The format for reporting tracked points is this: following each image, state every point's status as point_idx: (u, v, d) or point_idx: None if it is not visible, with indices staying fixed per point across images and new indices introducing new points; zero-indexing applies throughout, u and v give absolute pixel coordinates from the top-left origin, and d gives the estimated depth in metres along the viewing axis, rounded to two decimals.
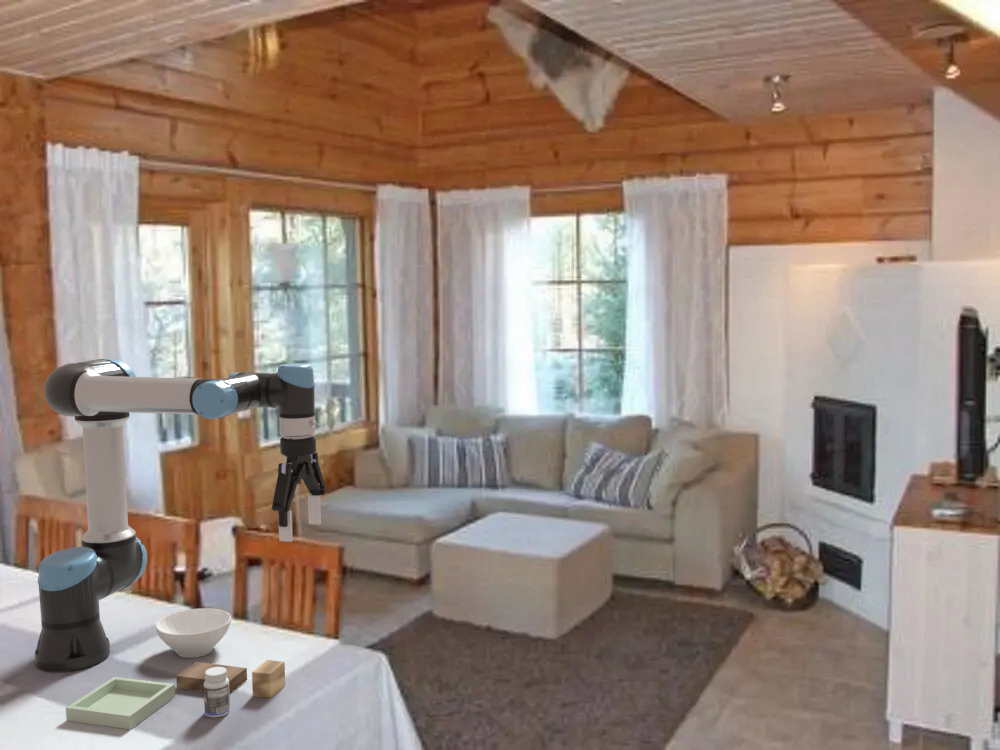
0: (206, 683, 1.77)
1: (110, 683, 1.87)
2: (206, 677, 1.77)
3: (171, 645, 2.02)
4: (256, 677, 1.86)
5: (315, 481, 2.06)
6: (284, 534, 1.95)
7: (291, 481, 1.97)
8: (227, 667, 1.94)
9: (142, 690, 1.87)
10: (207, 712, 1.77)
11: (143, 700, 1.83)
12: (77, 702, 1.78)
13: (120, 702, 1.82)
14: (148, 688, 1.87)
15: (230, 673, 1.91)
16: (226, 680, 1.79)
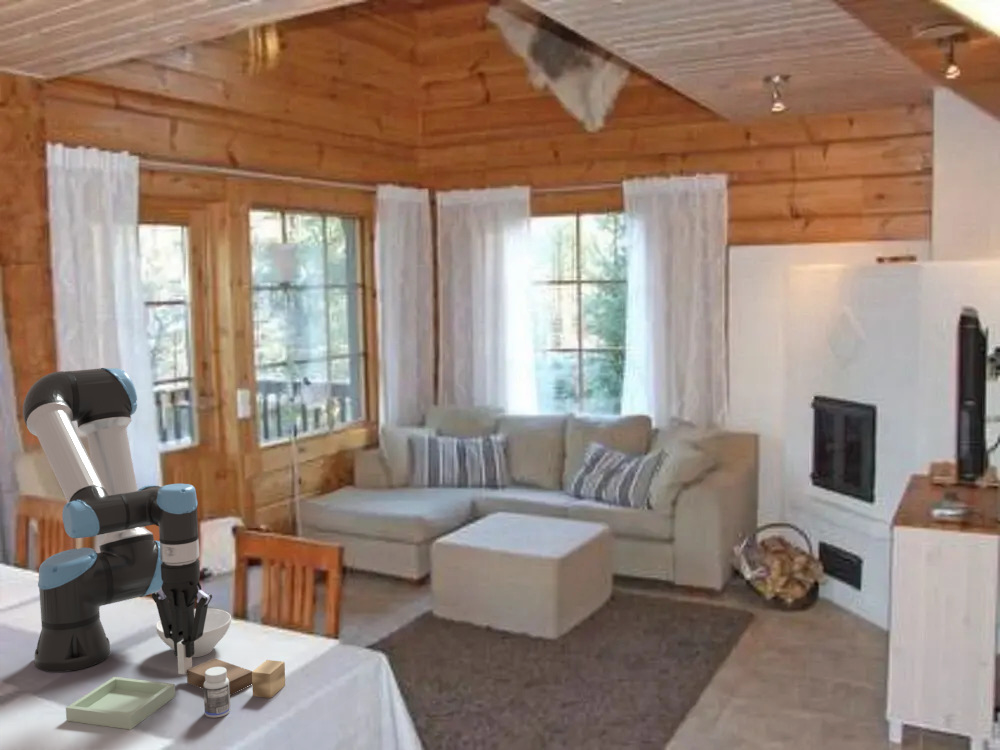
0: (206, 683, 1.77)
1: (110, 683, 1.87)
2: (206, 677, 1.77)
3: (171, 645, 2.02)
4: (256, 677, 1.86)
5: (185, 622, 1.90)
6: None
7: None
8: (236, 668, 1.93)
9: (142, 690, 1.87)
10: (207, 712, 1.77)
11: (143, 700, 1.83)
12: (77, 702, 1.78)
13: (120, 702, 1.82)
14: (148, 688, 1.87)
15: (234, 674, 1.90)
16: (226, 680, 1.79)
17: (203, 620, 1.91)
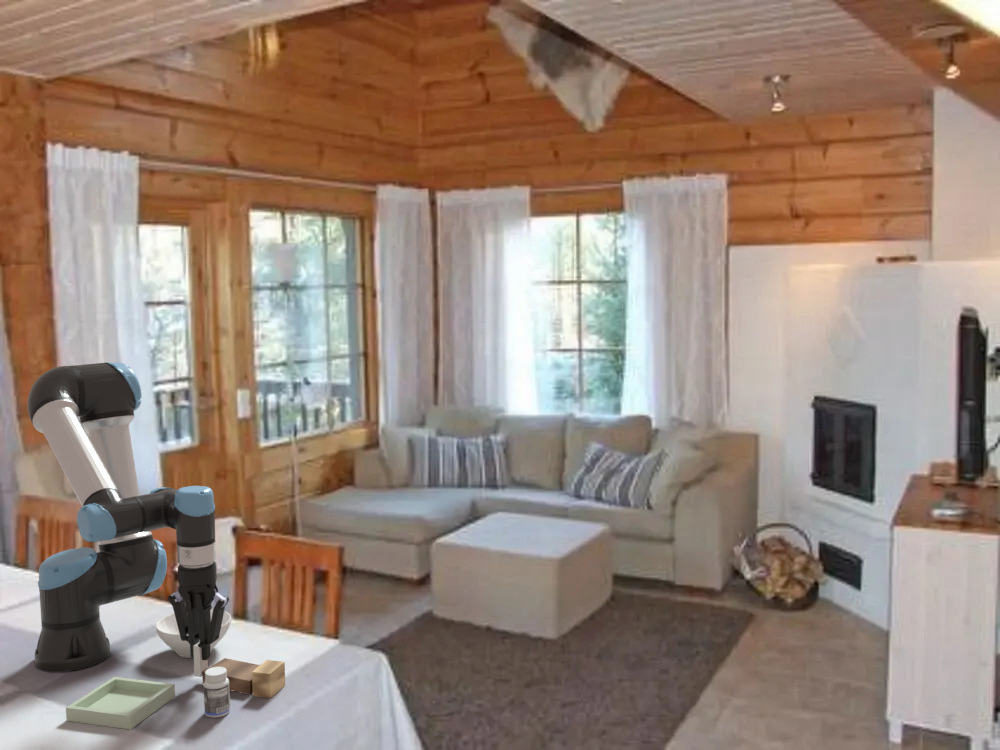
0: (206, 683, 1.77)
1: (110, 683, 1.87)
2: (206, 677, 1.77)
3: (171, 645, 2.02)
4: (256, 677, 1.86)
5: (201, 625, 1.90)
6: None
7: None
8: (253, 665, 1.94)
9: (142, 690, 1.87)
10: (207, 712, 1.77)
11: (143, 700, 1.83)
12: (77, 702, 1.78)
13: (120, 702, 1.82)
14: (148, 688, 1.87)
15: None
16: (226, 680, 1.79)
17: (220, 623, 1.90)
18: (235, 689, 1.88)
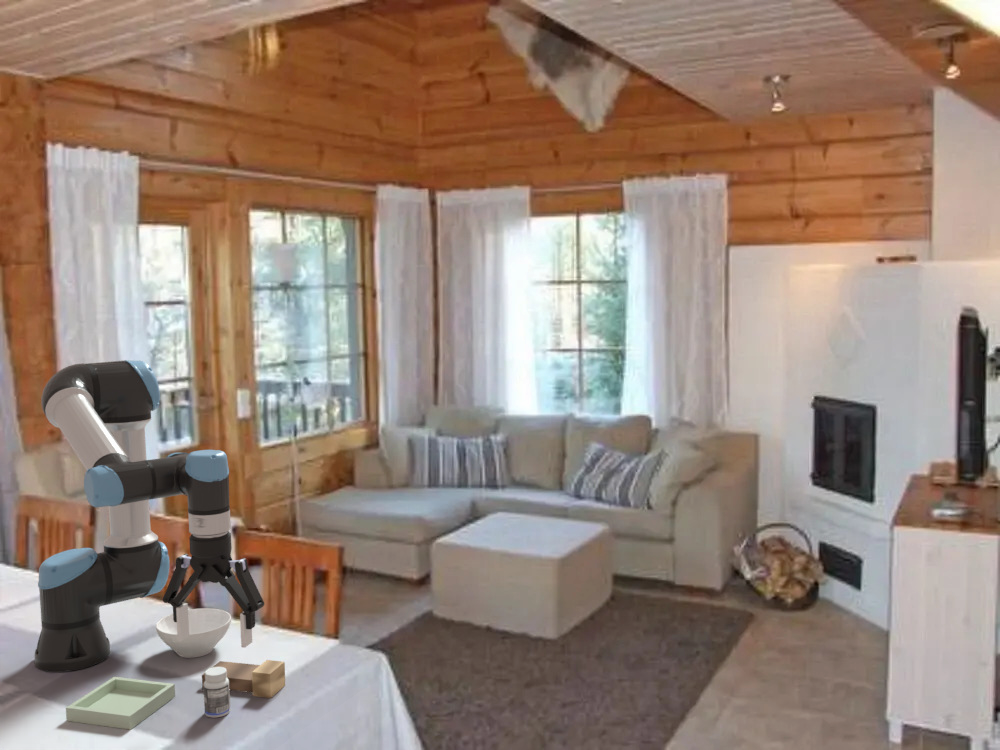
0: (206, 683, 1.77)
1: (110, 683, 1.87)
2: (206, 677, 1.77)
3: (171, 645, 2.02)
4: (256, 677, 1.86)
5: (234, 594, 1.74)
6: None
7: None
8: (252, 666, 1.94)
9: (142, 690, 1.87)
10: (207, 712, 1.77)
11: (143, 700, 1.83)
12: (77, 702, 1.78)
13: (120, 702, 1.82)
14: (148, 688, 1.87)
15: None
16: (226, 680, 1.79)
17: (254, 586, 1.75)
18: (239, 690, 1.89)
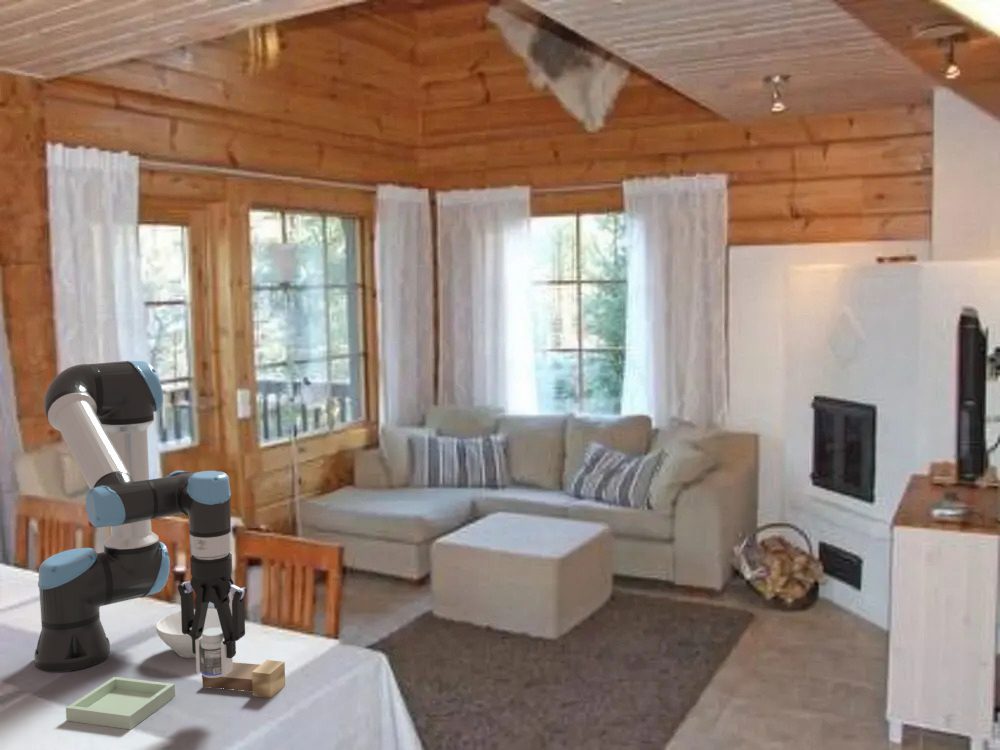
0: (203, 643, 1.77)
1: (110, 683, 1.87)
2: (203, 637, 1.76)
3: (171, 645, 2.02)
4: (256, 677, 1.86)
5: (222, 620, 1.76)
6: None
7: None
8: (252, 665, 1.95)
9: (142, 690, 1.87)
10: (204, 672, 1.77)
11: (143, 700, 1.83)
12: (77, 702, 1.78)
13: (120, 702, 1.82)
14: (148, 688, 1.87)
15: None
16: None
17: (242, 617, 1.76)
18: None
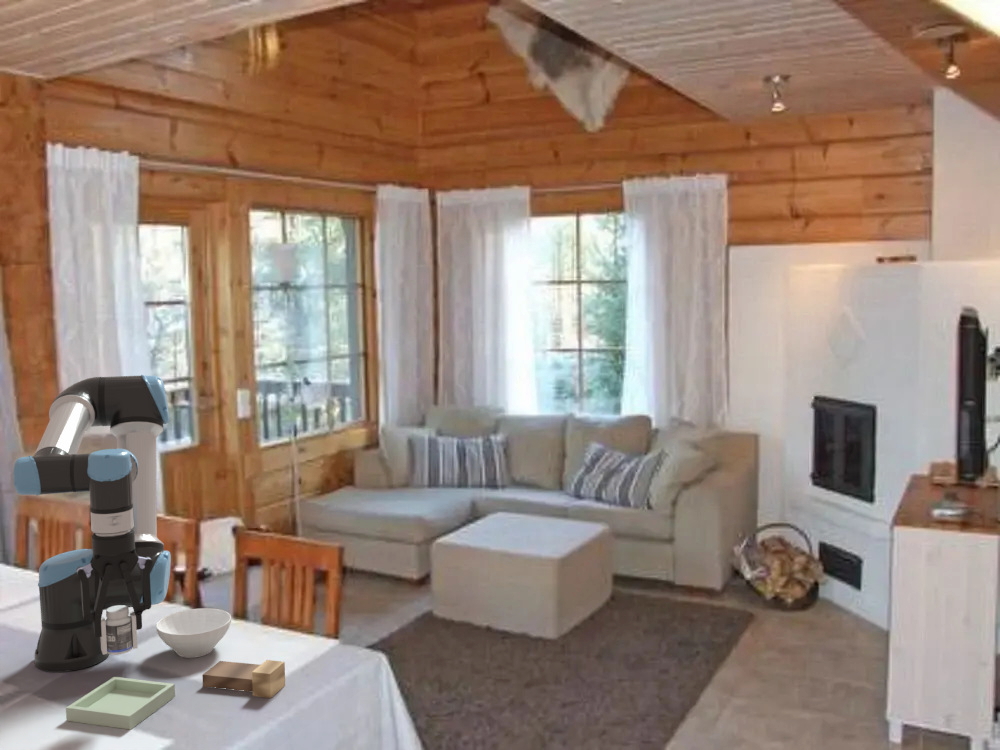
0: (113, 621, 1.77)
1: (110, 683, 1.87)
2: (113, 615, 1.77)
3: (171, 645, 2.02)
4: (256, 677, 1.86)
5: (132, 593, 1.79)
6: (101, 644, 1.78)
7: (100, 585, 1.77)
8: (252, 665, 1.95)
9: (142, 690, 1.87)
10: (116, 650, 1.78)
11: (143, 700, 1.83)
12: (77, 702, 1.78)
13: (120, 702, 1.82)
14: (148, 688, 1.87)
15: None
16: None
17: None
18: (240, 689, 1.89)
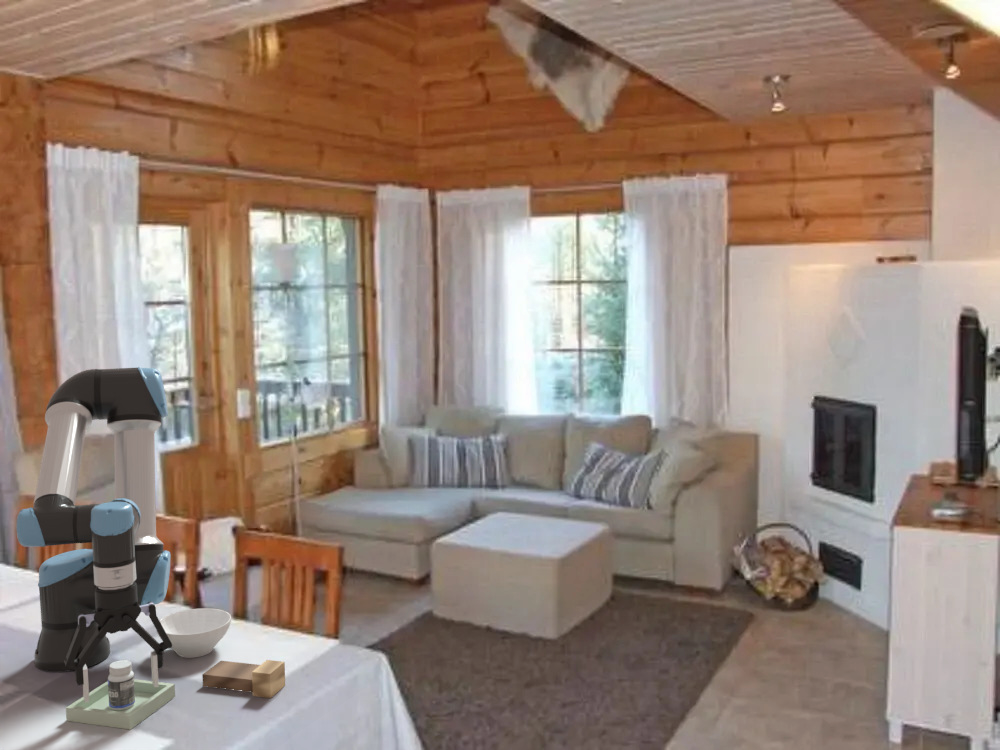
0: (116, 677, 1.78)
1: None
2: (116, 671, 1.78)
3: None
4: (256, 677, 1.86)
5: (146, 637, 1.81)
6: (83, 692, 1.78)
7: (95, 635, 1.77)
8: (252, 665, 1.94)
9: (142, 690, 1.87)
10: (119, 706, 1.79)
11: (143, 700, 1.83)
12: (77, 702, 1.78)
13: None
14: (148, 688, 1.87)
15: None
16: (130, 670, 1.82)
17: None
18: None
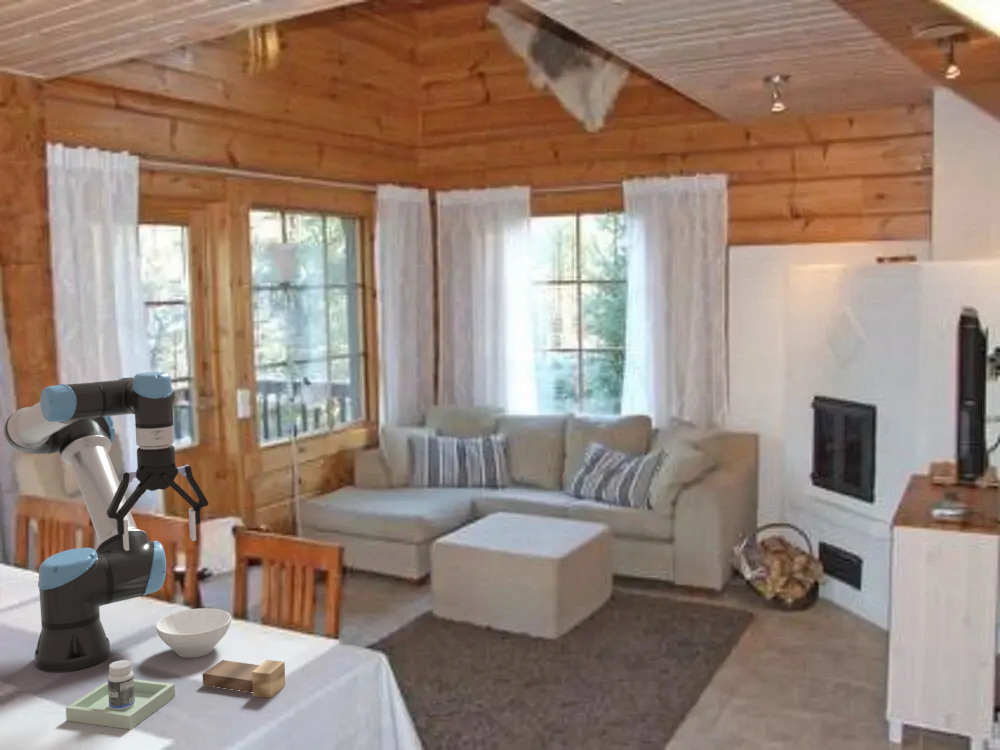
0: (115, 678, 1.78)
1: None
2: (116, 671, 1.78)
3: (171, 645, 2.02)
4: (256, 677, 1.86)
5: (185, 495, 1.99)
6: (124, 542, 1.95)
7: (136, 490, 1.95)
8: (253, 666, 1.94)
9: (142, 690, 1.87)
10: (119, 706, 1.79)
11: (143, 700, 1.83)
12: (77, 702, 1.78)
13: None
14: (148, 688, 1.87)
15: None
16: (130, 670, 1.82)
17: None
18: None
